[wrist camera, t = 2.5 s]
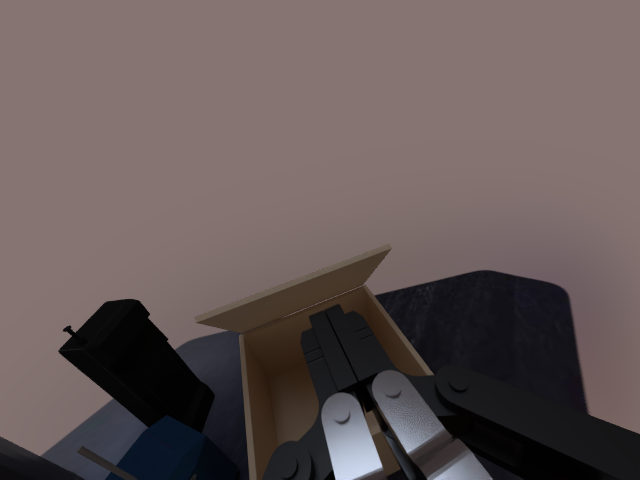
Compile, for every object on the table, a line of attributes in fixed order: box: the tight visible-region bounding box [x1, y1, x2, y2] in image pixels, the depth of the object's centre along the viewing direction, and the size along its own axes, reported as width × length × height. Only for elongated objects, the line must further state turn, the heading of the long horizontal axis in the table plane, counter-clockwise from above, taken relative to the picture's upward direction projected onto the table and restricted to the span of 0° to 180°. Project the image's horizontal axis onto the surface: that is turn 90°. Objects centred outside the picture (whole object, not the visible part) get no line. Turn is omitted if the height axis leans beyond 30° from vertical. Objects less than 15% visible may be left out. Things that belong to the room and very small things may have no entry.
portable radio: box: [58, 299, 214, 433], centre depth 35 cm, size 8×6×25 cm
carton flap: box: [195, 244, 392, 333], centre depth 32 cm, size 16×19×1 cm
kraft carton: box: [239, 285, 434, 480], centre depth 35 cm, size 18×20×12 cm
